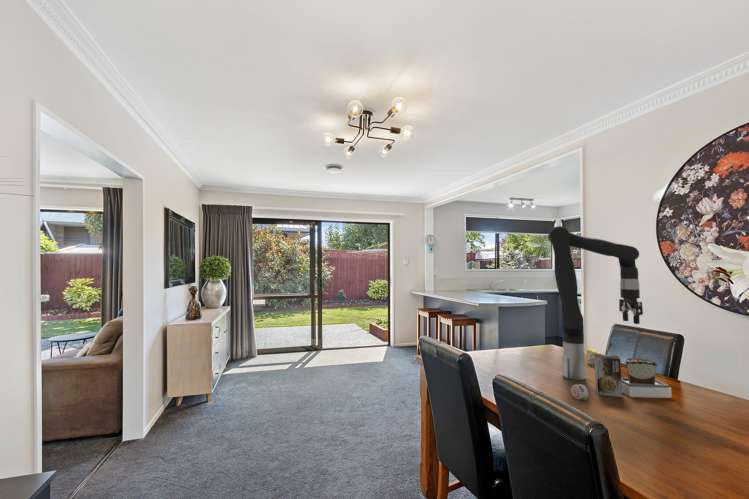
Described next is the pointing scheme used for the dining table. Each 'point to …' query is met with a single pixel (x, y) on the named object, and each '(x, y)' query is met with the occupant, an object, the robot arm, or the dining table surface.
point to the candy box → (592, 356)
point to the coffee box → (608, 375)
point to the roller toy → (579, 392)
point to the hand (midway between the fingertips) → (631, 322)
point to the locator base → (646, 389)
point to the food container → (641, 370)
